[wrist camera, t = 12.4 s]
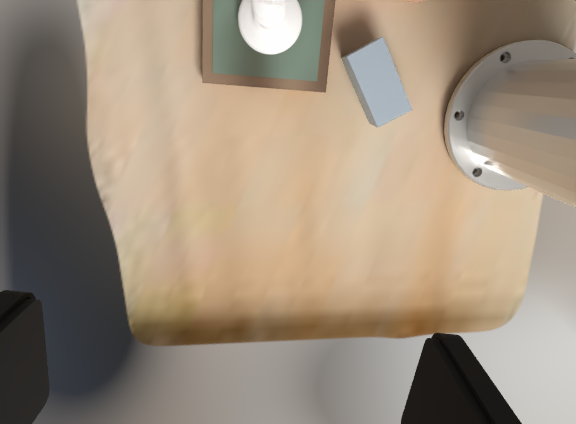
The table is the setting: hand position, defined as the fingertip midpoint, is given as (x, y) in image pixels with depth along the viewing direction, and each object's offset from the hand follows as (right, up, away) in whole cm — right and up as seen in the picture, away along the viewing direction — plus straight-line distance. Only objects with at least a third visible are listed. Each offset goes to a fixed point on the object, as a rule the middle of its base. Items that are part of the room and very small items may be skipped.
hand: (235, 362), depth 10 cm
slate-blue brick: (+8, +15, +24) cm, 29 cm away
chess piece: (0, +19, +20) cm, 28 cm away
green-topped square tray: (0, +19, +21) cm, 29 cm away
